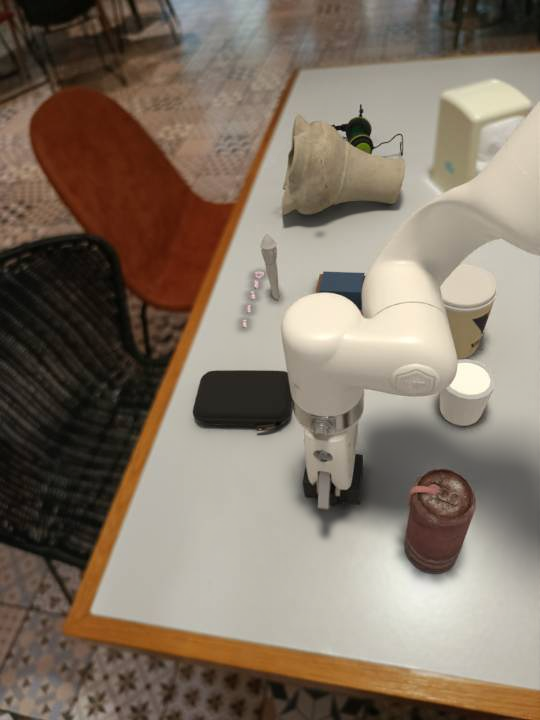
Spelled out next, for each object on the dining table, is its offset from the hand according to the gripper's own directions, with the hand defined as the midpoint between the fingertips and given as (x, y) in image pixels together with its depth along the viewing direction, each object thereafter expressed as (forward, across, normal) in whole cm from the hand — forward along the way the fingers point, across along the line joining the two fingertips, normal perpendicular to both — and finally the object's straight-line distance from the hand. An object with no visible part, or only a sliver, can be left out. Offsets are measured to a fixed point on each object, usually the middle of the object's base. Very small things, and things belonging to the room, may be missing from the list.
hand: (334, 481), depth 68 cm
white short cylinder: (+1, +14, -16) cm, 21 cm away
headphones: (+1, +87, +6) cm, 87 cm away
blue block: (0, +35, +3) cm, 35 cm away
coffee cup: (+1, +27, -15) cm, 31 cm away
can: (+1, -7, -12) cm, 14 cm away
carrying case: (+1, +11, +15) cm, 19 cm away
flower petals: (+1, +35, +20) cm, 40 cm away
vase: (+1, +64, +6) cm, 64 cm away
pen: (+1, +35, +15) cm, 38 cm away
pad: (+1, 0, 0) cm, 1 cm away
